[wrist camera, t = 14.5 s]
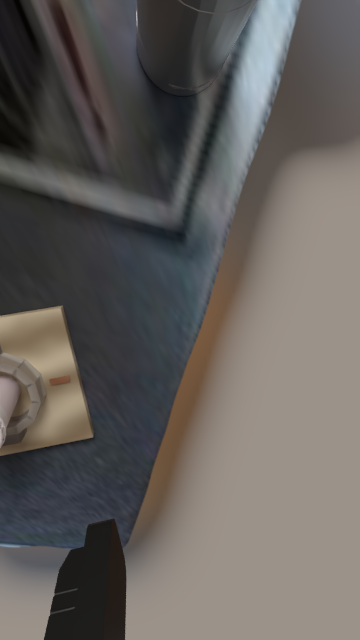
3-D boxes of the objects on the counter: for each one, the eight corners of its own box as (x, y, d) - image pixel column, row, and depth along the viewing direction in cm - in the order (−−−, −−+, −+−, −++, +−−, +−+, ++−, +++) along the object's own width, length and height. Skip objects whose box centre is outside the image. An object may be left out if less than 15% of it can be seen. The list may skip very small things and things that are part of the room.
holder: (-95, 331, 38) (-119, 341, 34) (62, 305, 39) (55, 313, 36) (-43, 459, 43) (-59, 479, 39) (94, 432, 44) (90, 449, 41)
